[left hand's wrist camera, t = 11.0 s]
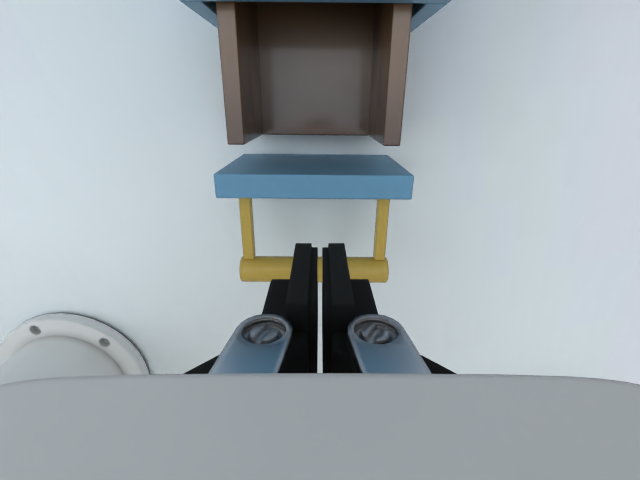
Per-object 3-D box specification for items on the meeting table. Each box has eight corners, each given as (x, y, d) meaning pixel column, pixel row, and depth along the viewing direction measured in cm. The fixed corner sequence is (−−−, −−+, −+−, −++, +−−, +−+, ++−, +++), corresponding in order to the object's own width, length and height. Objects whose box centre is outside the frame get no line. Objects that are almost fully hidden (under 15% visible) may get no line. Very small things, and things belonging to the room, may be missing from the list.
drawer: (380, 247, 26) (401, 297, 19) (250, 246, 26) (225, 295, 19) (415, -210, 17) (476, -410, 10) (217, -212, 17) (151, -414, 10)
